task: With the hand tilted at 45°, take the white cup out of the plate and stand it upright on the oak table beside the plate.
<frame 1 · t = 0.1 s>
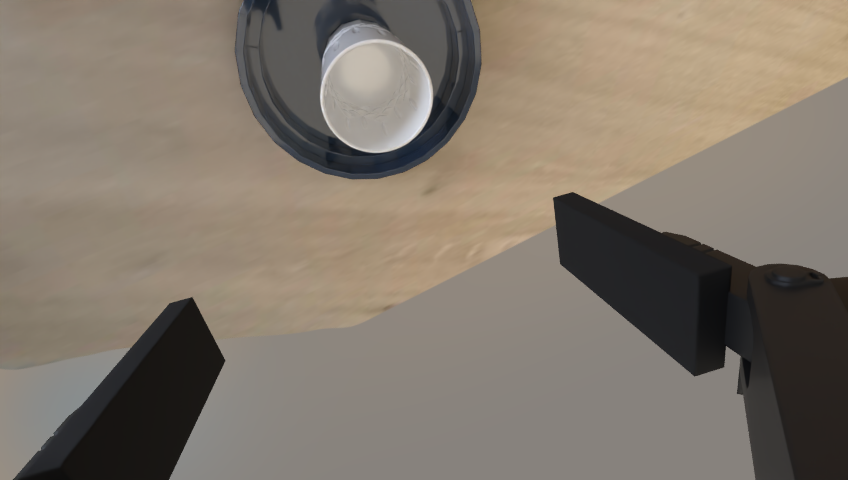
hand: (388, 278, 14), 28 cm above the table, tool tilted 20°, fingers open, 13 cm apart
plate: (361, 60, 36), on the table
white cup: (362, 61, 35), resting on plate
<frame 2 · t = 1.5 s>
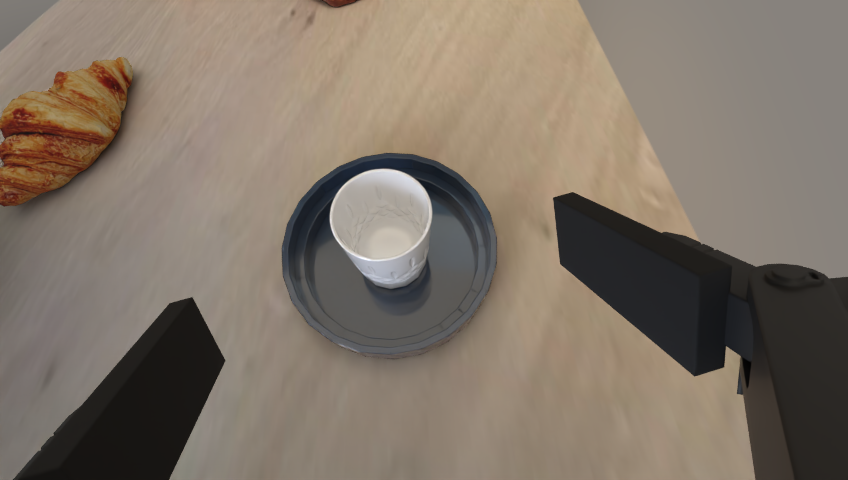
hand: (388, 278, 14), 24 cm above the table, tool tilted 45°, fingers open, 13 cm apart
croissant: (87, 139, 47), on the table
plate: (393, 258, 40), on the table
white cup: (392, 257, 40), resting on plate
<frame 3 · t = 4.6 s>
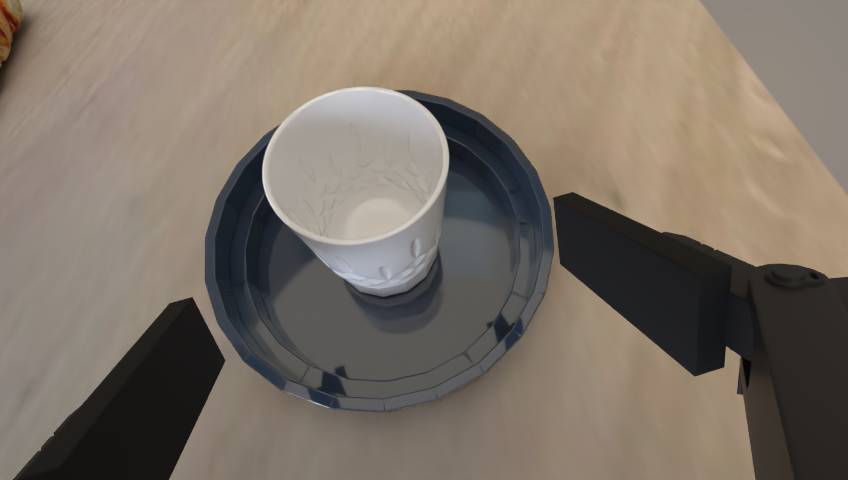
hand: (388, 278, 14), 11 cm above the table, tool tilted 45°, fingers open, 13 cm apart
plate: (386, 249, 26), on the table
white cup: (385, 248, 26), resting on plate
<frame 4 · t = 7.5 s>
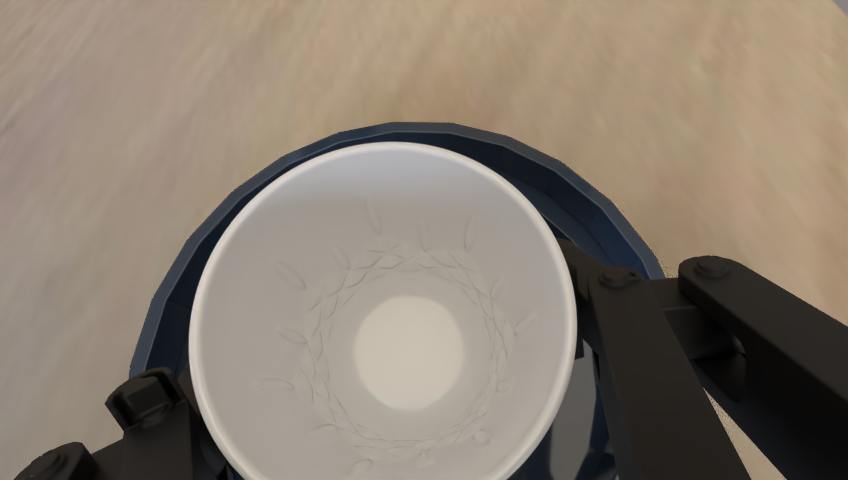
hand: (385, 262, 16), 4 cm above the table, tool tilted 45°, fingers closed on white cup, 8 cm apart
plate: (413, 358, 18), on the table
white cup: (413, 358, 18), resting on plate, touching gripper
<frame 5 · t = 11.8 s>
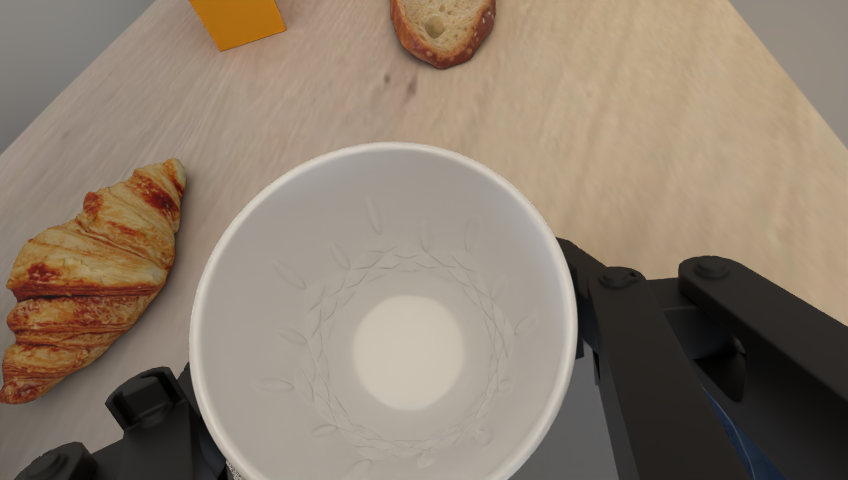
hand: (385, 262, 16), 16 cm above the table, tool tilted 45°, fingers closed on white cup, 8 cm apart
croissant: (129, 275, 34), on the table
plate: (600, 469, 27), on the table
white cup: (413, 358, 17), point 13 cm above the table, touching gripper
orange juice: (245, 17, 46), on the table
when the fingers open (3 cm above the table, at t = 16.1 s): white cup stays where it is, on the table.
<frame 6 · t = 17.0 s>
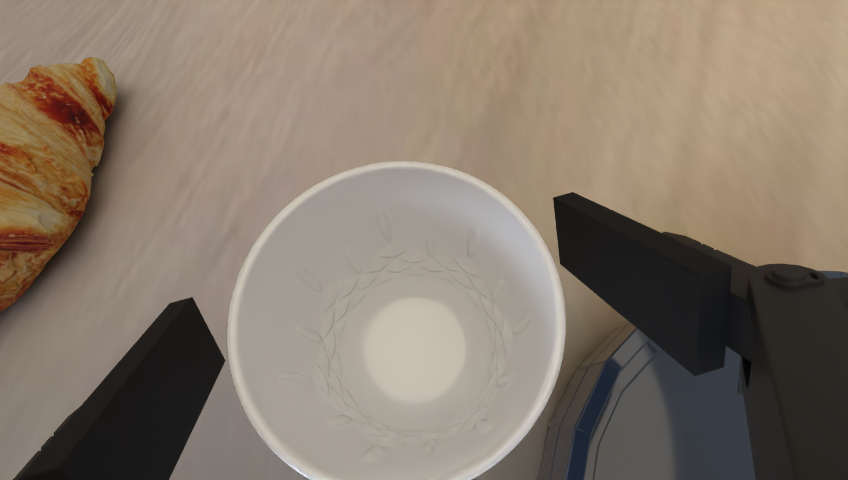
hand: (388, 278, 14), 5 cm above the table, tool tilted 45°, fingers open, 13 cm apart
croissant: (23, 229, 22), on the table
white cup: (419, 356, 19), on the table
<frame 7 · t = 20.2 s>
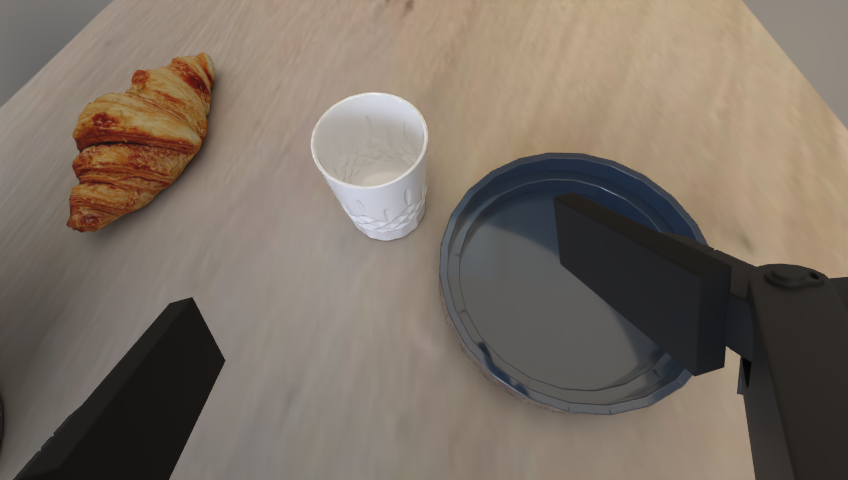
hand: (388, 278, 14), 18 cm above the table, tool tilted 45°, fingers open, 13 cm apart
croissant: (167, 149, 40), on the table
plate: (560, 282, 32), on the table
white cup: (388, 208, 36), on the table
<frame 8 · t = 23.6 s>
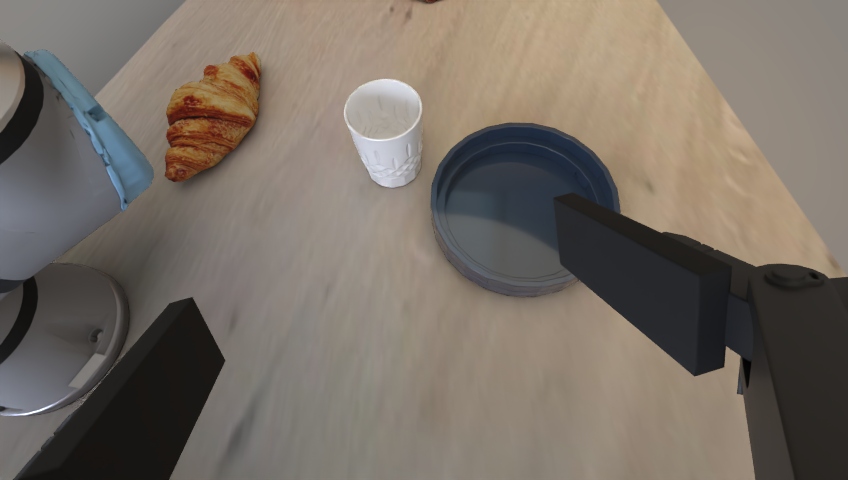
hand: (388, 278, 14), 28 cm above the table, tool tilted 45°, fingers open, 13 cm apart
croissant: (227, 125, 53), on the table
plate: (517, 214, 46), on the table
white cup: (394, 165, 49), on the table
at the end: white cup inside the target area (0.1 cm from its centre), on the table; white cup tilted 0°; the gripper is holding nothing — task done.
